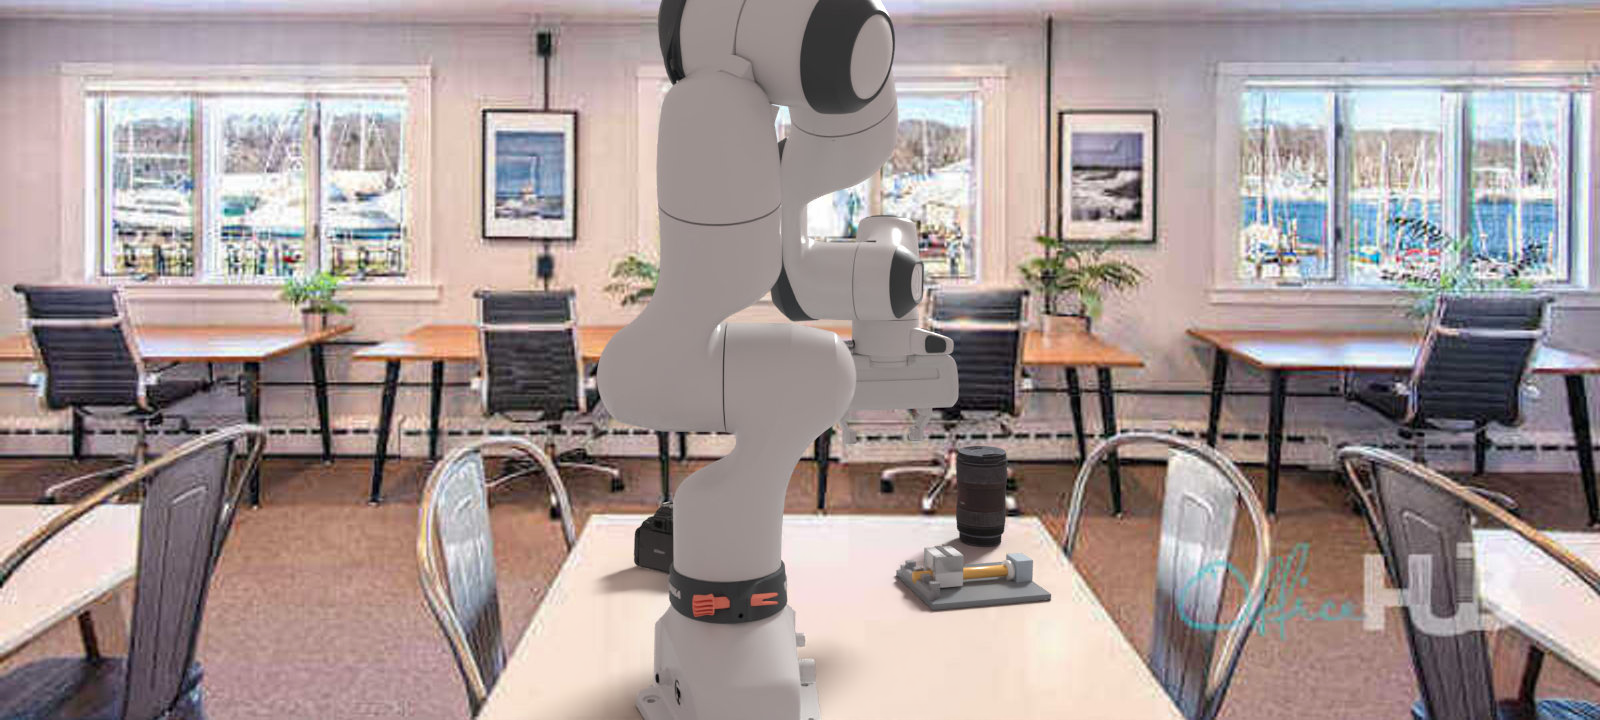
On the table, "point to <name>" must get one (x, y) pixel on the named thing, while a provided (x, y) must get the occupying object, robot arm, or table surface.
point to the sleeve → (944, 565)
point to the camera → (655, 540)
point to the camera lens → (981, 494)
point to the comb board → (977, 584)
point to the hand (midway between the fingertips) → (883, 441)
